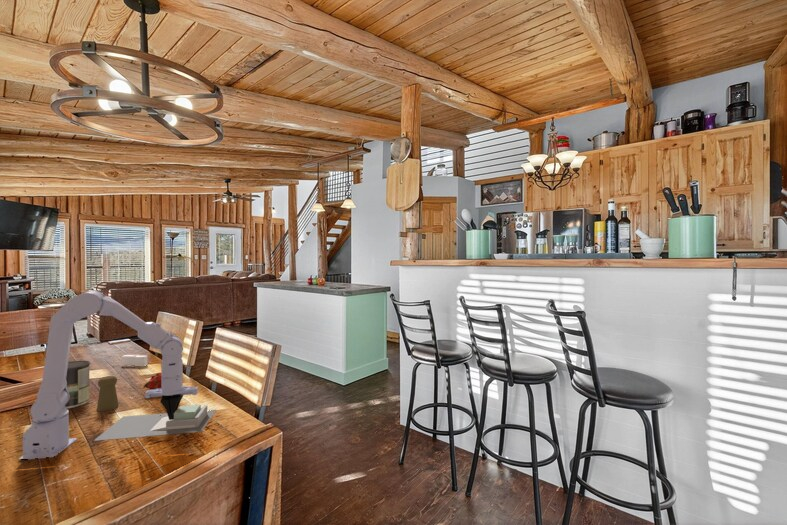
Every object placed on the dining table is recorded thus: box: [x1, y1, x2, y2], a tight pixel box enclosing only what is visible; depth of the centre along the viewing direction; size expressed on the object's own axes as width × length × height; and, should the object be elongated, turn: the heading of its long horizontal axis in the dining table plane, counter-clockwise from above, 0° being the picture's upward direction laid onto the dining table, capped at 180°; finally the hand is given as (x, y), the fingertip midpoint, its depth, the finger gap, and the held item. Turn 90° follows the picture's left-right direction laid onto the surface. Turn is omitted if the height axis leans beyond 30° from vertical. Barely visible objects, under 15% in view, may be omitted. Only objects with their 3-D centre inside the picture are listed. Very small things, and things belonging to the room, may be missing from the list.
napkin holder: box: [120, 354, 149, 366], centre depth 174 cm, size 15×11×6 cm
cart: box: [174, 404, 202, 420], centre depth 116 cm, size 6×7×3 cm
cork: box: [96, 375, 119, 412], centre depth 126 cm, size 6×6×11 cm
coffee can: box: [65, 360, 91, 410], centre depth 130 cm, size 10×10×14 cm
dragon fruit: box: [143, 372, 162, 391], centre depth 142 cm, size 8×8×12 cm
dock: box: [93, 405, 217, 442], centre depth 114 cm, size 16×28×4 cm, turn 101°
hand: (172, 418), depth 115 cm, fingers closed
